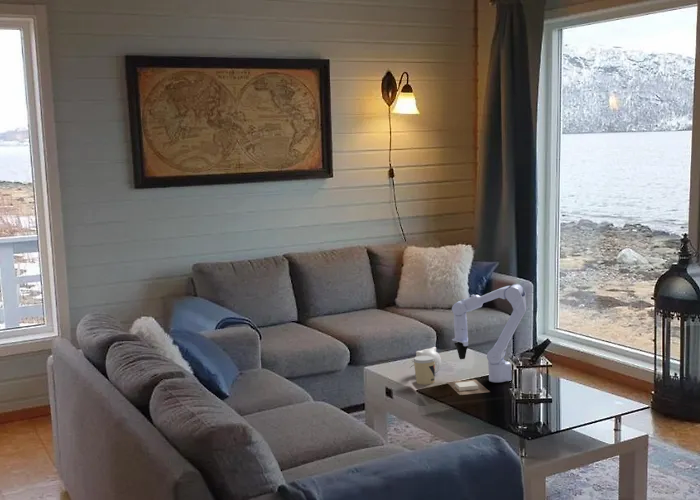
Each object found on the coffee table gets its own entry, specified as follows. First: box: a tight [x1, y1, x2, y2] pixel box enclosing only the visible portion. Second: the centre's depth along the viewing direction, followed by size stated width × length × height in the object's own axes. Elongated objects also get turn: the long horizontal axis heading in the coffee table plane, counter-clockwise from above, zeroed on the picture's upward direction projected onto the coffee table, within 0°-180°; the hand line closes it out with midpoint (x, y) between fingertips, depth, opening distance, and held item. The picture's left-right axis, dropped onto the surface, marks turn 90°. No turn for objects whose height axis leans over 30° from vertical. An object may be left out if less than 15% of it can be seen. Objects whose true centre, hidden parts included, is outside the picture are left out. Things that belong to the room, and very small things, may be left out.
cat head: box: [409, 346, 442, 375], centre depth 360 cm, size 15×13×12 cm
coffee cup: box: [413, 355, 436, 386], centre depth 346 cm, size 9×9×12 cm
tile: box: [455, 381, 478, 391], centre depth 333 cm, size 8×2×7 cm
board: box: [446, 379, 491, 396], centre depth 335 cm, size 13×20×1 cm, turn 8°
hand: (462, 358), depth 348 cm, fingers closed
